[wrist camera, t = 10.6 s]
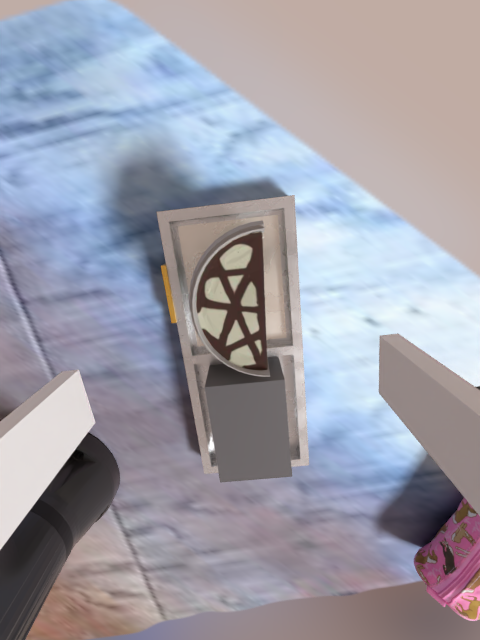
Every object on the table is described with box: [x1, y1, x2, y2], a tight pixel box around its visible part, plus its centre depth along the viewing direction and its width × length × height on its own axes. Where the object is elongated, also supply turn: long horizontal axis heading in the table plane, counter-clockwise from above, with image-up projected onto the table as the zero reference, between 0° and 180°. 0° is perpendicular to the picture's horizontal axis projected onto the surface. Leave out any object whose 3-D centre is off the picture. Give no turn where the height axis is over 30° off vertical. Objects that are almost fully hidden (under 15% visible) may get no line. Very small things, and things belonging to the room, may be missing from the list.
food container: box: [189, 220, 270, 377], centre depth 27 cm, size 12×6×10 cm, turn 4°
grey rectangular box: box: [205, 358, 292, 482], centre depth 34 cm, size 8×12×5 cm, turn 6°
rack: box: [157, 195, 309, 474], centre depth 34 cm, size 14×31×3 cm, turn 6°
